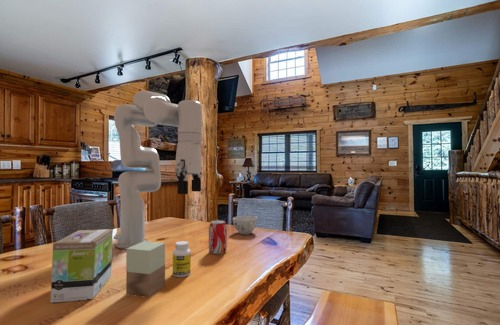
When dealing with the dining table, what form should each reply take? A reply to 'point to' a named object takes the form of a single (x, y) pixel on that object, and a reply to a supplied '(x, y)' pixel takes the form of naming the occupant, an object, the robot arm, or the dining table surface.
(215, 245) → the soda can
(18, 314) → the dining table surface
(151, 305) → the dining table surface
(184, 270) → the supplement bottle
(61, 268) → the tea box
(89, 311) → the dining table surface
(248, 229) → the teacup
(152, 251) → the top block
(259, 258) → the dining table surface
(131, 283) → the bottom block
